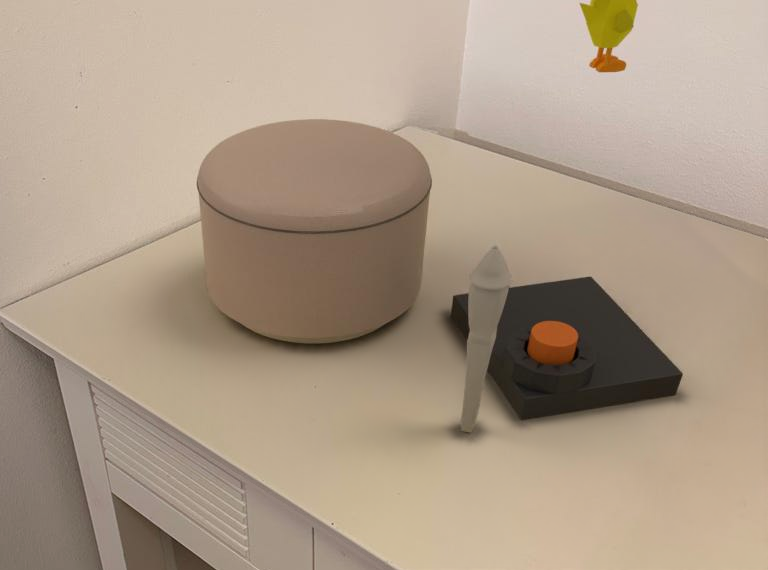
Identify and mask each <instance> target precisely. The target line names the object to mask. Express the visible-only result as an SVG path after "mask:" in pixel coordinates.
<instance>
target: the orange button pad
mask: <svg viewBox="0 0 768 570" xmlns="http://www.w3.org/2000/svg"><path fill="white" fill-rule="evenodd" d="M468 298H469V292H468V293H460V294H453V295H452V303H451V308H450V309H451V311H450V316H451V318H452V319H453V321H454V322H455V325H457V327H458V328H459V330H460V332H461V333H462V334H463V336H464V338H465V339H466V341H467V340H468V336H469V332H470V328H469V318H468ZM544 321H558V322H562V323H565V324H568V325H570V326H571V327H573V328H574V329H575V330H576V331H577V333H578V341H577V345H576V349H575V353H574V357H573V360H572V361H571V362H570V363H568V364H562V365H551V364H544V363H540V362H538V361H536V360H534V359H532V358H530V357H529V355H528V352H527V349H528V344H529V339H530V334H531V330H532V328H533V326H534V325H536V324H538V323H540V322H544ZM487 372H488V374H490V376H491V378H492V379H493V380H494V382H495V383H496V385H497V387H498V388H499V389H500V391H501V392H502V393H503V395H504V397H505V398H506V400H507V401H508V403H509V404H510V405H511V407H512V409H513V410H514V411H515V413H516V415H517V416H518V418H519V420H527V419H535V418H541V417H547V416H554V415H559V414H567V413H572V412H578V411H584V410H591V409H597V408H601V407H608V406H614V405H619V404H627V403H633V402H640V401H646V400H652V399H658V398H664V397H670V396H676V395H677V393H678V390H679V387H680V383H681V381H682V378H683V375H684V373H683V372H682V371H681V369H680V368H678V366H677V365H676V364H675V363H674V362H673V361H672V360H671V359H670V358H669V357H668V356H667V355H666V354H665V353H664V352H663V351H662V350H661V349H660V348H659V346H657V344H655V342H654V341H653V340H652V339H651V338H650V336H648V335H647V334H646V333H645V331H643V330H642V328H640V326H639V325H638V324H637V323H635V321H634V320H633V319H632V318H631V317H630V316H629V314H627V312H625V310H623V308H622V307H621V306H620V305H619V304H618V303H617V302H616V301H615V300H614V299H613V298H612V297H611V296H610V295H609V293H607V292H606V290H605V289H603V287H602V286H601V285H600V284H599V283H598V282H597V281H596V280H595V278H593V277H592V276H583V277H577V278H576V277H575V278H569V279H568V278H567V279H561V280H555V281H547V282H540V283H534V284H533V283H531V284H525V285H518V286H511V287H510V286H509V290H508V294H507V298H506V301H505V305H504V308H503V311H502V314H501V317H500V320H499V322H498V325H497V332H496V339H495V342H494V346H493V349H492V353H491V356H490V360H489V364H488V368H487Z"/></svg>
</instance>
